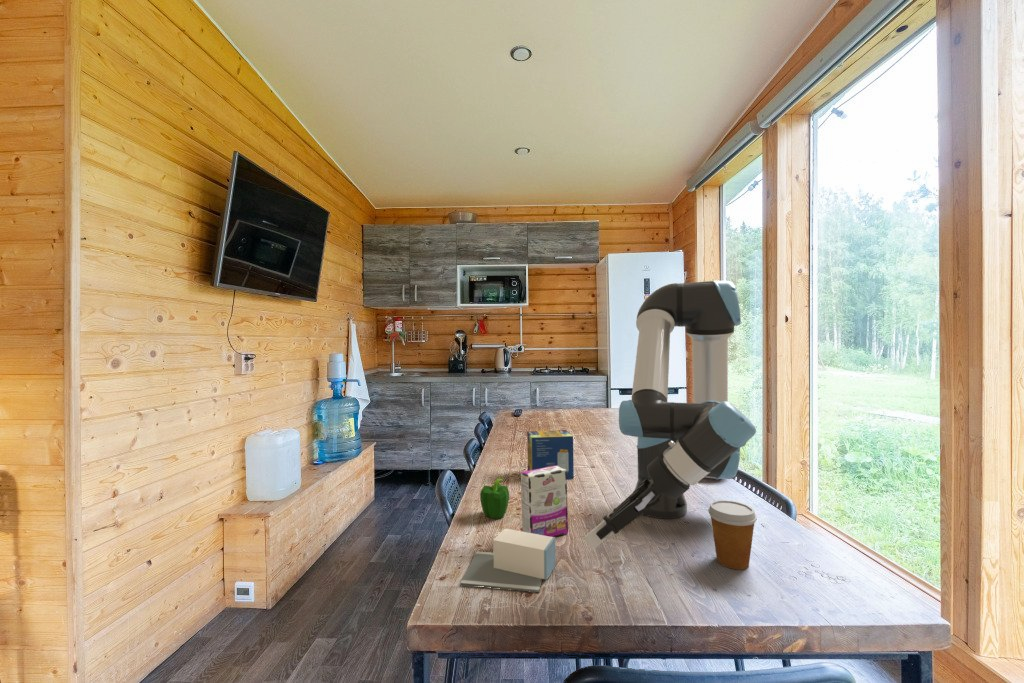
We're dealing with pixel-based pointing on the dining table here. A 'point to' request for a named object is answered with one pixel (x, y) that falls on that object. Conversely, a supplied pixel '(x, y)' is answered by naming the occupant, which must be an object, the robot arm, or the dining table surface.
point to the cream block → (525, 553)
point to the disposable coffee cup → (732, 532)
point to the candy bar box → (544, 501)
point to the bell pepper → (494, 500)
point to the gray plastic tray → (497, 576)
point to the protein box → (550, 450)
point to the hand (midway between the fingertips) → (588, 542)
